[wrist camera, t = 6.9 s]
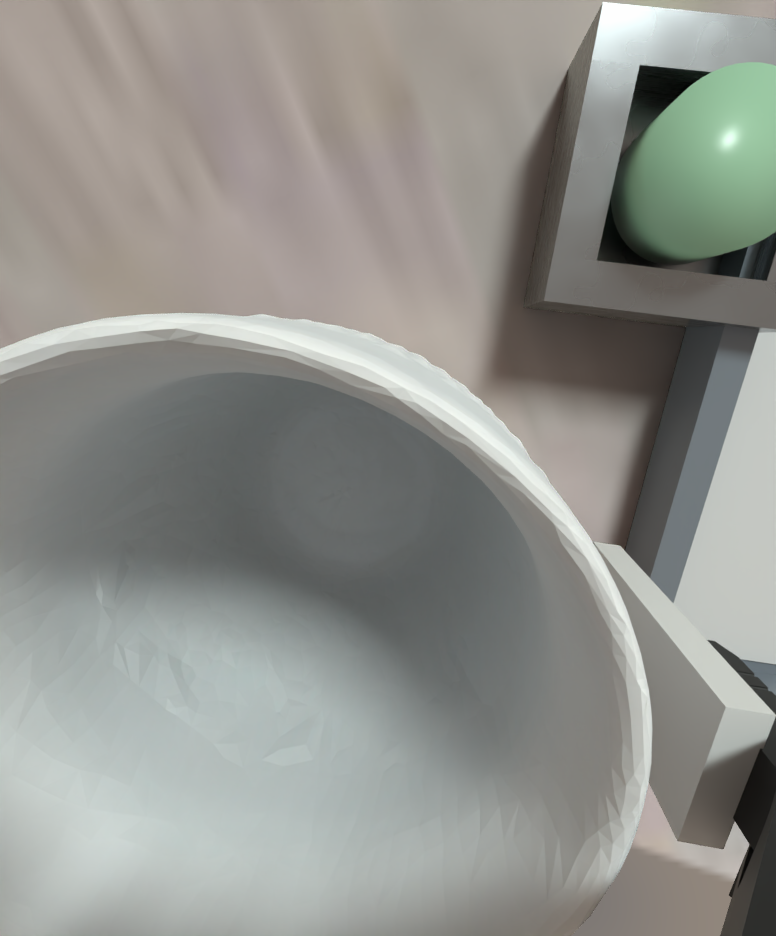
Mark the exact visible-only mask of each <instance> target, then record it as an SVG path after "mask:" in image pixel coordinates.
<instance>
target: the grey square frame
mask: <svg viewBox="0 0 776 936" xmlns="http://www.w3.org/2000/svg"><path fill="white" fill-rule="evenodd" d="M746 62H761V63H766V64H772V65H775V66H776V19H770V18H760V17H749V16H739V15H729V14H719V13H708V12H698V11H688V10H678V9H667V8H657V7H647V6H637V5H626V4H616V3H606V2H603V3H602V5H601V7H600V9H599V11H598V13H597V15H596V17H595V19H594V21H593V22H592V24H591V26H590V28H589V30H588V32H587V34H586V36H585V38H584V40H583V42H582V43H581V45H580V47H579V49H578V51H577V53H576V55H575V57H574V59H573V61H572V62H571V64H570V66H569V69H568V74H567V80H566V85H565V90H564V96H563V101H562V106H561V112H560V117H559V122H558V128H557V133H556V138H555V143H554V149H553V154H552V159H551V165H550V170H549V175H548V181H547V186H546V191H545V197H544V202H543V207H542V213H541V218H540V223H539V229H538V234H537V239H536V244H535V250H534V255H533V260H532V266H531V271H530V276H529V282H528V287H527V292H526V298H525V303H524V307H526V308H534V309H542V310H550V311H558V312H566V313H574V314H582V315H590V316H598V317H606V318H615V319H623V320H631V321H639V322H647V323H655V324H663V325H671V326H679V327H709V326H730V327H738V328H746V329H754V330H759V333H764V332H776V232H775V233H773V234H771V235H770V236H768V237H767V238H765V239H763V240H761V243H760V246H759V250H758V253H757V256H756V260H755V263H754V266H753V269H752V273H751V276H750V279H747V278H738V277H730V276H722V275H717V274H718V271H719V267H720V264H721V260H722V256H723V254H721V255H717V256H714V257H710V258H707V259H703V260H700V261H696V262H693V263H688V264H684V265H663V264H658V263H654V262H651V261H648V260H646V259H644V258H642V257H640V256H639V255H638V254H636V253H635V252H634V251H632V250H631V249H630V248H629V247H628V246H627V245H626V243H625V242H624V241H623V239H622V238H621V236H620V234H619V232H618V230H617V228H616V225H615V223H614V219H613V214H612V207H611V193H612V189H613V184H614V180H615V175H616V170H617V168H618V165H619V163H620V161H621V159H622V157H623V155H624V153H625V152H626V150H627V149H628V147H629V146H630V144H631V143H632V142H633V141H634V140H635V138H636V137H637V136H638V135H639V134H640V133H641V132H642V131H643V130H644V129H645V128H646V127H647V126H648V125H649V124H650V123H652V122H653V121H654V120H655V119H656V118H657V117H658V116H659V115H660V114H661V113H662V112H663V111H664V110H665V109H666V108H667V107H668V106H669V105H670V104H671V103H672V102H673V101H674V100H675V99H677V98H678V97H679V96H680V95H681V94H682V93H683V92H684V91H685V90H686V89H687V88H688V87H689V86H691V85H692V84H693V83H695V82H696V81H698V80H699V79H700V78H702V77H704V76H706V75H707V74H709V73H711V72H713V71H715V70H718V69H720V68H723V67H726V66H729V65H733V64H738V63H746Z"/></svg>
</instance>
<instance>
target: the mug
mask: <svg viewBox="0 0 776 936" xmlns="http://www.w3.org/2000/svg"><path fill="white" fill-rule="evenodd" d="M651 757H652V713H651V703H650V696H649V688H648V684H647V679H646V674H645V670H644V665H643V661H642V656H641V652H640V649H639V646H638V642H637V639H636V636H635V633H634V630H633V627H632V624H631V621H630V618H629V615H628V612H627V609H626V607H625V604H624V602H623V600H622V597H621V595H620V593H619V590H618V588H617V586H616V584H615V582H614V580H613V578H612V576H611V574H610V572H609V570H608V568H607V566H606V564H605V562H604V560H603V558H602V557H601V555H600V553H599V552H598V550H597V549H596V547H595V545H594V544H593V542H592V540H591V539H590V537H589V536H588V534H587V533H586V531H585V530H584V528H583V527H582V526H581V524H580V523H579V521H578V520H577V518H576V517H575V516H574V514H573V513H572V511H571V510H570V508H569V507H568V506H567V504H566V503H565V502H564V500H563V499H562V498H561V496H560V495H559V494H558V492H557V491H556V490H555V489H554V487H553V486H552V485H551V484H550V482H549V480H548V478H547V476H546V474H545V473H544V471H542V470H541V469H540V468H539V467H538V466H537V465H536V464H535V463H534V462H533V461H532V460H531V459H530V457H529V455H528V453H527V451H526V449H525V448H524V447H523V445H522V443H521V441H520V439H519V438H517V437H516V436H515V435H513V434H512V433H511V432H509V430H508V429H507V427H506V426H505V424H504V423H503V422H502V421H501V420H500V419H498V418H497V417H496V416H495V415H494V413H493V412H492V410H491V409H490V408H489V407H487V406H486V405H484V404H483V402H482V400H481V399H479V398H477V397H476V396H474V395H473V394H472V393H471V392H470V391H469V390H468V389H467V387H466V386H465V385H463V384H461V383H459V382H458V381H457V380H455V379H453V378H451V377H450V376H449V375H448V374H447V373H446V372H445V371H444V370H443V369H441V368H438V367H436V366H434V365H431V364H430V363H429V362H428V361H427V360H426V359H425V358H424V357H423V356H421V355H419V354H415V353H412V352H409V351H407V350H406V349H405V348H403V347H402V346H399V345H395V344H391V343H388V342H386V341H384V340H383V339H381V338H378V337H376V336H374V335H372V334H371V333H361V332H359V331H357V330H353V329H346V328H344V327H341V326H338V325H330V324H324V323H320V322H313V321H310V320H307V319H300V320H291V319H287V318H283V319H282V318H277V317H273V316H269V315H265V314H260V315H253V316H245V317H244V316H233V315H222V314H202V313H169V314H142V315H133V316H123V317H113V318H104V319H99V320H95V321H90V322H85V323H81V324H76V325H71V326H66V327H62V328H57V329H54V330H51V331H48V332H45V333H42V334H39V335H36V336H33V337H30V338H27V339H24V340H21V341H19V342H16V343H14V344H11V345H9V346H6V347H3V348H1V349H0V936H571V935H572V934H573V933H574V932H575V931H576V930H577V929H578V928H579V927H580V926H581V925H582V924H583V923H584V922H585V921H586V920H587V919H588V918H589V917H590V916H591V914H592V913H593V911H594V909H595V908H596V907H597V905H598V903H599V902H600V901H601V899H602V898H603V896H604V895H605V893H606V892H607V890H608V889H609V887H610V886H611V884H612V883H613V881H614V879H615V878H616V876H617V875H618V873H619V871H620V869H621V867H622V865H623V863H624V861H625V858H626V857H627V854H628V852H629V850H630V847H631V845H632V842H633V839H634V837H635V834H636V831H637V828H638V825H639V821H640V817H641V813H642V809H643V806H644V802H645V797H646V793H647V788H648V782H649V776H650V769H651Z"/></svg>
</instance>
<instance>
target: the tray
mask: <svg viewBox="0 0 776 936" xmlns="http://www.w3.org/2000/svg"><path fill="white" fill-rule="evenodd" d="M760 243H761V241H759V242H757V243H755V244H753V245H750V246H748V247H745V248H742V249H738V250H735V251H731V252H728V253H724V254H723V256H722V260H721V264H720V267H719V271H718V274H717V275H722V276H730V277H738V278H747V279H750V276H751V273H752V269H753V266H754V263H755V260H756V256H757V253H758V250H759V246H760ZM625 552H626V553H627V554H628V555H629V556H630V557H631V558H632V559H633V560H634V561H635V563H636V564H637V565H638V566H639V567H640V568H641V569H642V570H643V571H644V572H645V573H646V574H647V576H648V577H649V578H650V579H651V580H652V581H653V582H654V583H655V584H656V585H657V586H658V588H659V589H660V590H661V591H662V592H663V593H664V594H665V595H666V596H667V597H668V598H669V599H670V601H671V602H672V603H673V604H674V605H675V606H676V607H677V608H678V609H679V610H680V611H681V612H682V614H683V615H684V616H685V617H686V618H687V619H688V620H689V621H690V622H691V623H692V624H693V626H694V627H695V628H696V629H697V630H698V631H699V632H700V633H701V634H702V635H703V636H704V637H705V639H706V640H711V641H715V642H717V643H718V644H720V645H721V646H723V647H724V648H726V649H727V650H729V651H730V652H732V653H733V654H735V655H736V656H738V657H739V658H740V659H741V660H742V661H743V662H744V663H745V664H746V665H747V667H748V668H749V669H750V670H751V671H752V672H753V673H754V676H755V677H758V678H759V679H760V680H761V681H762V682H763V683H764V684H765V685H766V686H767V687H768V691H772V692H773V693H774V694H775V695H776V332H764V333H759V330H754V329H746V328H738V327H730V326H709V327H686V331H685V334H684V338H683V342H682V345H681V349H680V352H679V356H678V360H677V363H676V367H675V371H674V374H673V378H672V381H671V385H670V389H669V392H668V396H667V400H666V403H665V407H664V410H663V414H662V418H661V421H660V425H659V429H658V432H657V436H656V439H655V443H654V447H653V450H652V454H651V458H650V461H649V465H648V468H647V472H646V476H645V479H644V483H643V487H642V490H641V494H640V497H639V501H638V505H637V508H636V512H635V516H634V519H633V523H632V526H631V530H630V534H629V537H628V541H627V545H626V548H625Z"/></svg>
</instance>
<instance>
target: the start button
mask: <svg viewBox="0 0 776 936" xmlns="http://www.w3.org/2000/svg"><path fill="white" fill-rule="evenodd" d="M611 207H612V214H613V219H614V223H615V225H616V228H617V230H618V232H619V234H620V236H621V238H622V239H623V241H624V242H625V243H626V245H627V246H628V247H629V248H630V249H631V250H632V251H634V252H635V253H636V254H638V255H639V256H640V257H642V258H644V259H646V260H648V261H651V262H654V263H658V264H663V265H684V264H688V263H693V262H696V261H700V260H703V259H707V258H710V257H714V256H717V255H721V254H724V253H728V252H731V251H735V250H738V249H742V248H745V247H748V246H750V245H753V244H755V243H757V242H759V241H761V240H763V239H765V238H767V237H768V236H770V235H771V234H773V233H775V232H776V66H775V65H772V64H766V63H761V62H746V63H738V64H733V65H729V66H726V67H723V68H720V69H718V70H715V71H713V72H711V73H709V74H707V75H706V76H704V77H702V78H700V79H699V80H698V81H696V82H695V83H693V84H692V85H691V86H689V87H688V88H687V89H686V90H685V91H684V92H683V93H682V94H681V95H680V96H679V97H678V98H677V99H675V100H674V101H673V102H672V103H671V104H670V105H669V106H668V107H667V108H666V109H665V110H664V111H663V112H662V113H661V114H660V115H659V116H658V117H657V118H656V119H655V120H654V121H653V122H652V123H650V124H649V125H648V126H647V127H646V128H645V129H644V130H643V131H642V132H641V133H640V134H639V135H638V136H637V137H636V138H635V140H634V141H633V142H632V143H631V144H630V146H629V147H628V149H627V150H626V152H625V153H624V155H623V157H622V159H621V161H620V163H619V165H618V168H617V170H616V175H615V180H614V184H613V189H612V193H611Z"/></svg>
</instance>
